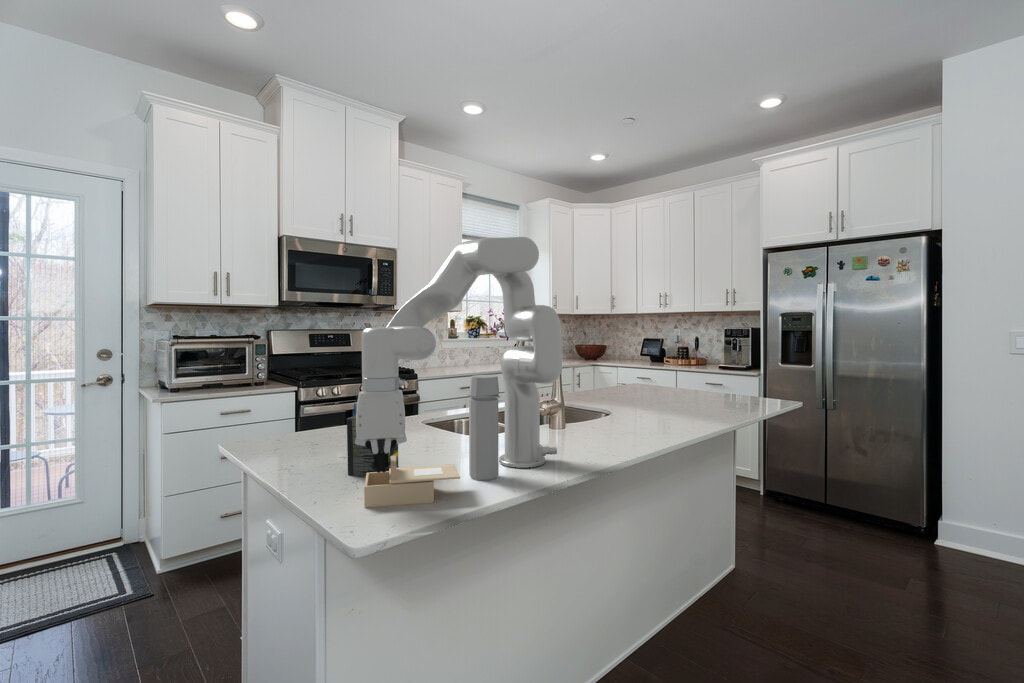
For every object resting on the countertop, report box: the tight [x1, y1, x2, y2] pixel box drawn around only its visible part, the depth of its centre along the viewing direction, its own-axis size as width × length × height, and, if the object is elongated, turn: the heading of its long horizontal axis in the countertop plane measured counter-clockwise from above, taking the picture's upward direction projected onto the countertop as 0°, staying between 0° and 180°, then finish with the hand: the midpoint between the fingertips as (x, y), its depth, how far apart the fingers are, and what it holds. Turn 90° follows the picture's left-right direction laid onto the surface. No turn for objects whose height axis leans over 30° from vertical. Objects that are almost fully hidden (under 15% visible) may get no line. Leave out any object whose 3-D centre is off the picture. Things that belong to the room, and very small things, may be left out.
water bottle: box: [467, 374, 501, 482], centre depth 126 cm, size 9×8×25 cm
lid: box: [389, 455, 461, 484], centre depth 112 cm, size 15×10×3 cm
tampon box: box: [346, 415, 399, 478], centre depth 131 cm, size 11×9×15 cm
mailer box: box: [363, 471, 435, 509], centre depth 111 cm, size 14×10×5 cm
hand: (381, 470), depth 110 cm, fingers closed
